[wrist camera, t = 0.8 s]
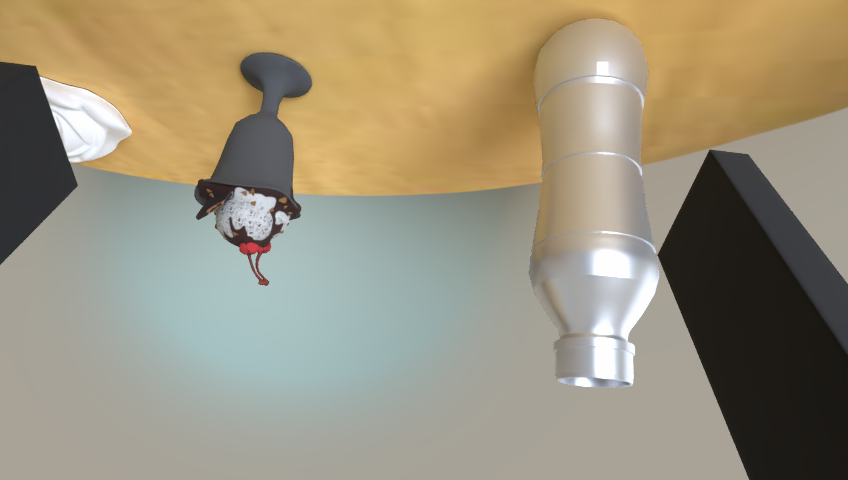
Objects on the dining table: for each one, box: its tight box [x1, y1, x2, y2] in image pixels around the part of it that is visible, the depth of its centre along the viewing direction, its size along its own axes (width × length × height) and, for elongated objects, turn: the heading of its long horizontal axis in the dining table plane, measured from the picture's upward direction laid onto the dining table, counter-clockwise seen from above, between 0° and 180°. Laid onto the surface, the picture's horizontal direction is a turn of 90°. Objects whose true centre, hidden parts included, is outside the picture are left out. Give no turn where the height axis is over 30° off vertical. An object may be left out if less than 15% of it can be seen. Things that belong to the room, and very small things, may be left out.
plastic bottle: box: [529, 18, 659, 387], centre depth 30 cm, size 6×7×20 cm
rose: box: [39, 76, 132, 163], centre depth 45 cm, size 10×4×10 cm
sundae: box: [195, 53, 312, 286], centre depth 37 cm, size 7×7×15 cm
